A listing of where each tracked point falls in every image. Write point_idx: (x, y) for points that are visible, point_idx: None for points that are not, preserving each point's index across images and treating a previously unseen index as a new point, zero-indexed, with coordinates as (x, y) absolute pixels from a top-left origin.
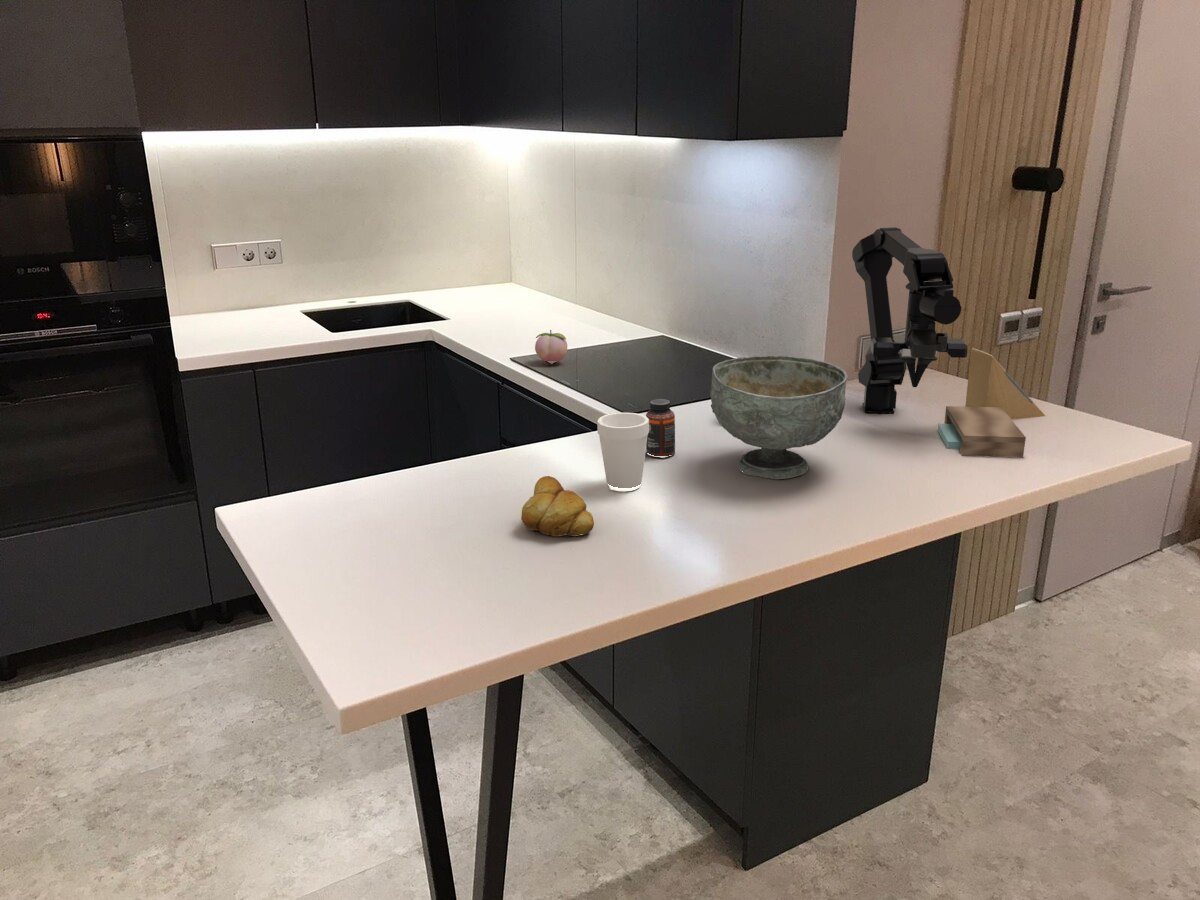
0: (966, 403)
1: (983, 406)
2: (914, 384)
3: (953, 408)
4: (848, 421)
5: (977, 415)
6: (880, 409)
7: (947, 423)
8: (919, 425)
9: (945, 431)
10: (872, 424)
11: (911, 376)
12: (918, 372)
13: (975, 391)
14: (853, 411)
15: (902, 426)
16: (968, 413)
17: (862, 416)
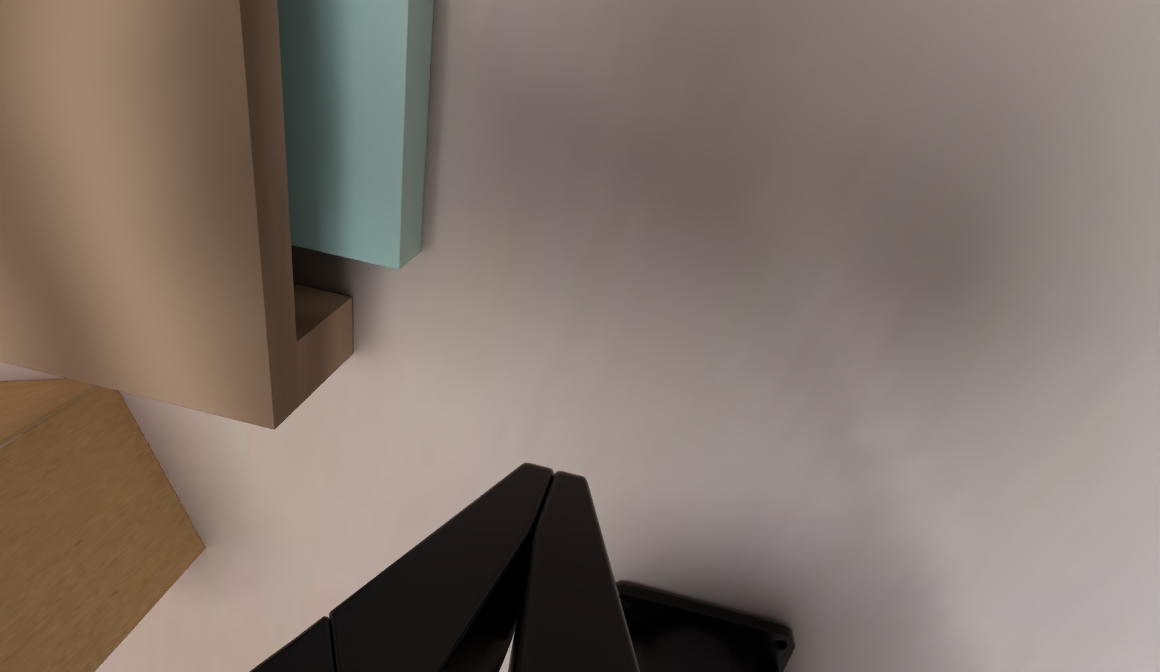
0: (170, 576)
1: (47, 452)
2: (557, 495)
3: (223, 364)
4: (1004, 519)
5: (31, 141)
6: (695, 628)
7: (329, 307)
8: (520, 361)
9: (380, 47)
10: (855, 433)
11: (609, 624)
12: (431, 668)
13: (39, 598)
14: (852, 665)
15: (648, 359)
16: (108, 214)
17: (841, 582)
